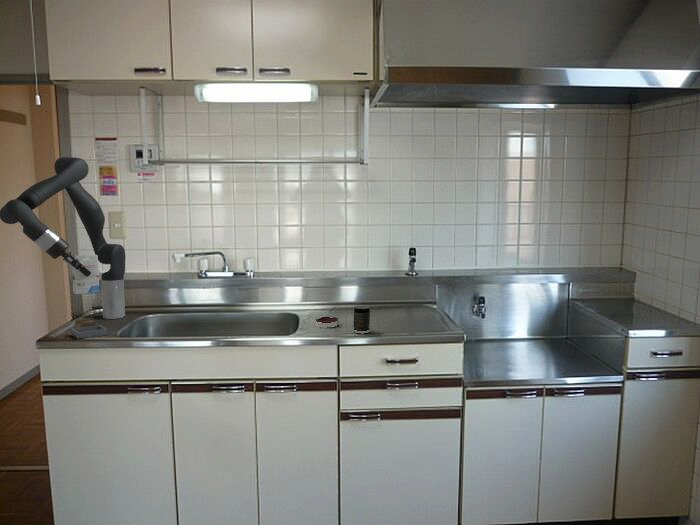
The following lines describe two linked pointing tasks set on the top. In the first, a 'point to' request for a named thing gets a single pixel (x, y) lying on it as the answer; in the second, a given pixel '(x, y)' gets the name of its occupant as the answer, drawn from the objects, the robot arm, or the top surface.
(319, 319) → the canned food
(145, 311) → the top surface
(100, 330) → the tray
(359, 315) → the supplement container
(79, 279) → the ink box
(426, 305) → the top surface
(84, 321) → the clip stand
